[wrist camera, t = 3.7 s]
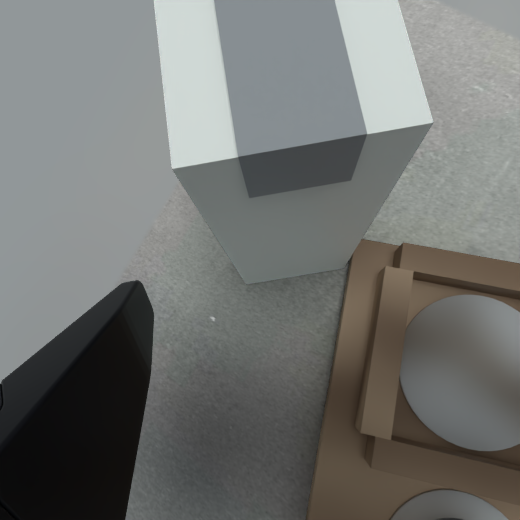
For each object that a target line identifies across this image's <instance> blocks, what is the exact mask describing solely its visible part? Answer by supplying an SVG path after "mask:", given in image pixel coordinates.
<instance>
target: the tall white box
mask: <svg viewBox="0 0 520 520" xmlns="http://www.w3.org/2000/svg"><path fill="white" fill-rule="evenodd" d="M154 6H155V16H156V25H157V34H158V44H159V52H160V62H161V71H162V81H163V90H164V99H165V109H166V118H167V127H168V137H169V146H170V155H171V165H172V170H173V171H174V173H175V174H176V176H177V178H178V179H179V181H180V182H181V184H182V185H183V187H184V189H185V190H186V192H187V193H188V195H189V196H190V198H191V199H192V201H193V203H194V204H195V206H196V207H197V209H198V210H199V212H200V213H201V215H202V217H203V218H204V220H205V221H206V223H207V224H208V226H209V227H210V229H211V231H212V232H213V234H214V235H215V237H216V238H217V240H218V241H219V243H220V245H221V246H222V248H223V249H224V251H225V252H226V254H227V256H228V257H229V259H230V260H231V262H232V263H233V265H234V266H235V268H236V270H237V271H238V273H239V274H240V276H241V277H242V279H243V280H244V282H245V284H246V285H247V284H253V283H259V282H265V281H272V280H278V279H284V278H290V277H296V276H302V275H308V274H314V273H320V272H326V271H332V270H338V269H344V267H345V265H346V264H347V262H348V260H349V259H350V257H351V256H352V254H353V252H354V251H355V249H356V247H357V246H358V244H359V243H360V241H361V239H362V238H363V236H364V235H365V233H366V231H367V230H368V228H369V226H370V225H371V223H372V222H373V220H374V218H375V217H376V215H377V213H378V212H379V210H380V209H381V207H382V205H383V204H384V202H385V200H386V199H387V197H388V196H389V194H390V192H391V191H392V189H393V187H394V186H395V184H396V183H397V181H398V179H399V178H400V176H401V175H402V173H403V171H404V170H405V168H406V166H407V165H408V163H409V162H410V160H411V158H412V157H413V155H414V153H415V152H416V150H417V149H418V147H419V145H420V144H421V142H422V140H423V139H424V137H425V136H426V134H427V132H428V131H429V129H430V127H431V126H432V124H433V119H432V116H431V112H430V109H429V106H428V102H427V99H426V95H425V92H424V89H423V85H422V82H421V78H420V75H419V71H418V68H417V65H416V61H415V58H414V54H413V51H412V48H411V44H410V41H409V37H408V34H407V30H406V27H405V24H404V20H403V17H402V13H401V10H400V7H399V3H398V0H154Z"/></svg>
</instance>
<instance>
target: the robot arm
mask: <svg viewBox="0 0 520 520" xmlns="http://www.w3.org/2000/svg"><path fill="white" fill-rule="evenodd" d="M153 327H154V312H153V308H152V305H151V303H150V301H149V298H148V296H147V293H146V291H145V288H144V286H143V284H142V283H141V282H140V281H138V280H136V281H130V282H125V283H122V284H120V285H119V286H118V287H117V288H115V289H114V290H113V291H112V292H110V293H109V294H108V295H107V296H105V297H104V298H103V299H102V300H101V301H99V302H98V303H97V304H96V305H94V306H93V307H92V308H91V309H89V310H88V311H87V312H86V313H85V314H83V315H82V316H81V317H80V318H78V319H77V320H76V321H75V322H73V323H72V324H71V325H70V326H69V327H68V328H66V329H65V330H64V331H62V333H60V334H59V335H57V336H56V337H55V338H54V339H53V340H51V341H50V342H49V343H48V344H46V345H45V346H44V347H43V348H42V349H40V350H39V351H38V352H37V353H35V354H34V355H33V356H32V357H30V358H29V359H28V360H27V361H26V362H24V363H23V364H22V365H21V366H20V367H18V368H17V369H16V370H15V371H13V372H12V373H11V374H10V375H8V376H7V377H6V378H5V379H3V380H2V382H1V384H0V520H125V517H126V511H127V506H128V500H129V495H130V489H131V483H132V478H133V472H134V467H135V461H136V455H137V450H138V444H139V439H140V433H141V427H142V422H143V416H144V411H145V405H146V399H147V394H148V388H149V382H150V376H151V365H152V346H153Z"/></svg>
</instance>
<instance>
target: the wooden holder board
mask: <svg viewBox="0 0 520 520" xmlns="http://www.w3.org/2000/svg"><path fill="white" fill-rule="evenodd" d="M306 520H520V264H519V263H514V262H508V261H503V260H497V259H491V258H486V257H480V256H475V255H469V254H464V253H458V252H453V251H447V250H442V249H436V248H431V247H425V246H419V245H414V244H408V243H402V244H401V245H400V246H397V245H392V244H386V243H381V242H375V241H370V240H364V239H361V241H360V243H359V244H358V246H357V247H356V249H355V251H354V252H353V254H352V256H351V257H350V263H349V269H348V275H347V281H346V287H345V292H344V298H343V304H342V310H341V316H340V322H339V327H338V333H337V339H336V345H335V351H334V357H333V362H332V368H331V374H330V380H329V386H328V392H327V397H326V403H325V409H324V415H323V421H322V427H321V432H320V438H319V444H318V450H317V456H316V462H315V467H314V473H313V479H312V485H311V491H310V497H309V503H308V508H307V514H306Z"/></svg>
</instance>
